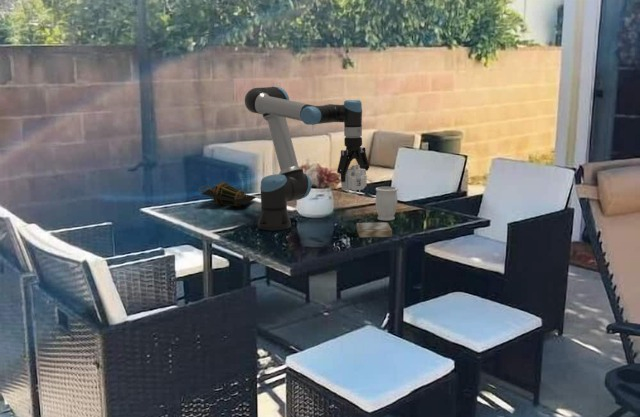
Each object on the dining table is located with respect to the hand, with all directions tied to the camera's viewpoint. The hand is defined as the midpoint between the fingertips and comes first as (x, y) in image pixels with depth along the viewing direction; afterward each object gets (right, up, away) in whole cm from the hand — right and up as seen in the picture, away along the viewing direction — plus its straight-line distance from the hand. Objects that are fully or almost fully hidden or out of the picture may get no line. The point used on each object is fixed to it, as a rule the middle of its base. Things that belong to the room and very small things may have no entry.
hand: (353, 187), depth 290 cm
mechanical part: (0, -2, 0) cm, 2 cm away
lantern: (-65, -8, +65) cm, 92 cm away
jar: (+17, -14, +32) cm, 39 cm away
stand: (+9, -20, +5) cm, 22 cm away
